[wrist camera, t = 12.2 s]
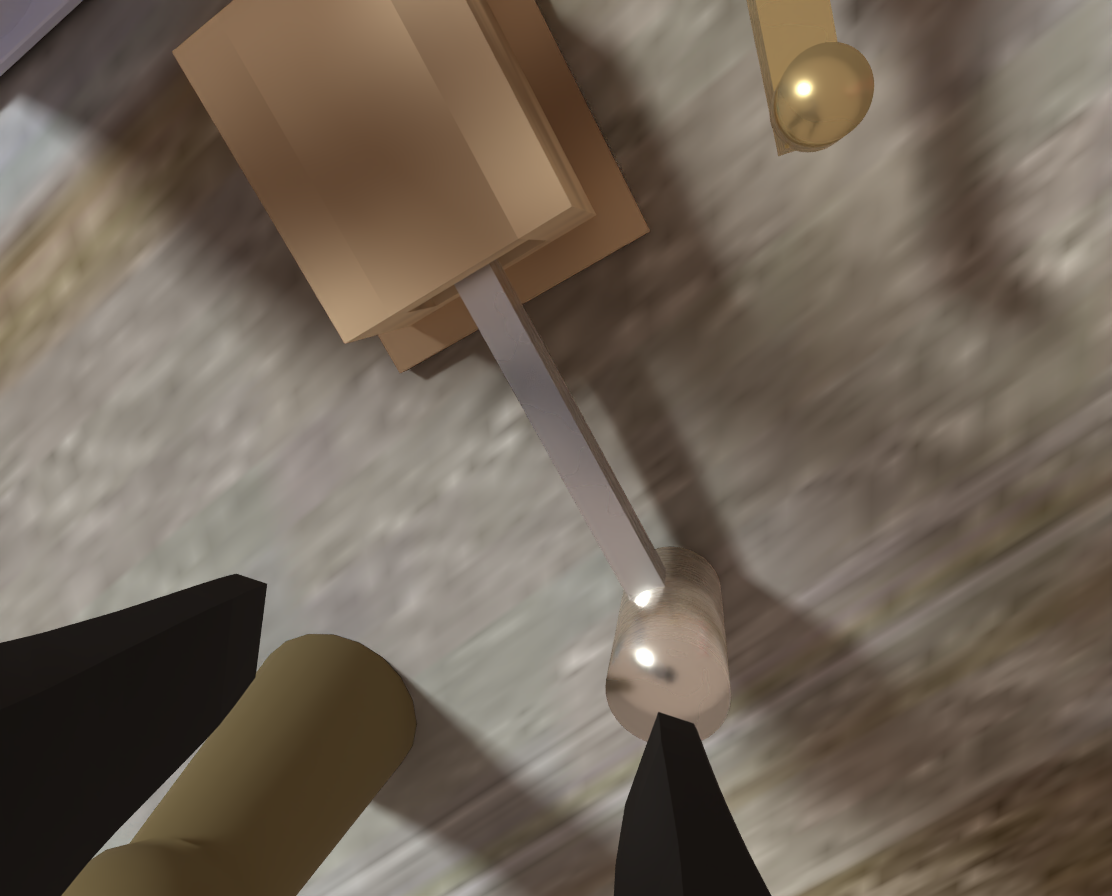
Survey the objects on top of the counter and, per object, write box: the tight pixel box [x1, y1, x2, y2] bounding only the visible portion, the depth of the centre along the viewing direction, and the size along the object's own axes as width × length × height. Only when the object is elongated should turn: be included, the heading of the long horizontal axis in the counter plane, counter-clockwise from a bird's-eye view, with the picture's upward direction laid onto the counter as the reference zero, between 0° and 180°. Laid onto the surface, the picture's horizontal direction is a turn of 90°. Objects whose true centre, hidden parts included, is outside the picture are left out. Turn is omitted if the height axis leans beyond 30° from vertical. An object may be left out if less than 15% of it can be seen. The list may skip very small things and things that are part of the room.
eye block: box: [172, 0, 650, 373], centre depth 17 cm, size 9×8×4 cm
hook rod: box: [454, 258, 731, 742], centre depth 17 cm, size 14×3×5 cm, turn 29°
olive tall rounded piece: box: [61, 634, 417, 896], centre depth 19 cm, size 6×6×11 cm
